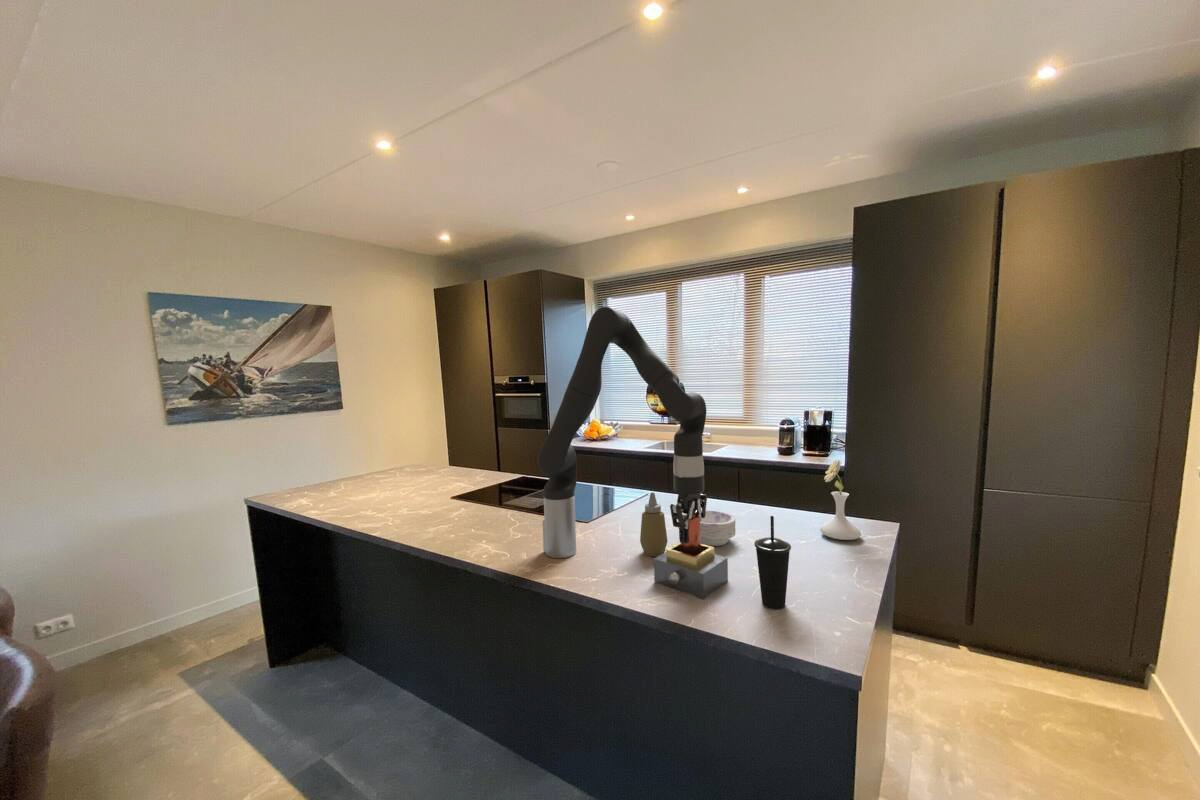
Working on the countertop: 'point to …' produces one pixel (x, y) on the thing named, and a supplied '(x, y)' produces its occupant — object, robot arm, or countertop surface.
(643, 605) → the countertop surface
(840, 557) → the countertop surface
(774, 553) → the drinking cup
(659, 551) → the squeeze bottle
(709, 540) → the paper bowls
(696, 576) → the grey drawer box
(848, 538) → the flower in vase
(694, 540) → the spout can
